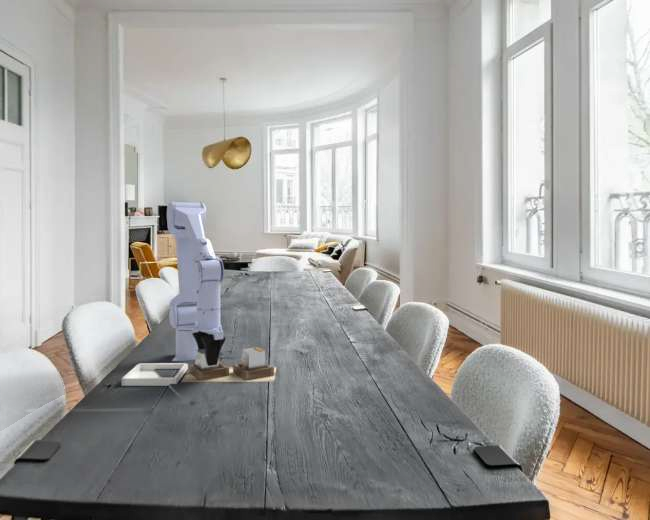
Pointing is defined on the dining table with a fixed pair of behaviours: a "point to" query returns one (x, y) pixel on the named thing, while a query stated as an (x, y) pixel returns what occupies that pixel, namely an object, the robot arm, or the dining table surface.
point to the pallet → (230, 374)
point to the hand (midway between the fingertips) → (208, 362)
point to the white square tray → (152, 374)
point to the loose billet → (203, 361)
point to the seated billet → (253, 359)
